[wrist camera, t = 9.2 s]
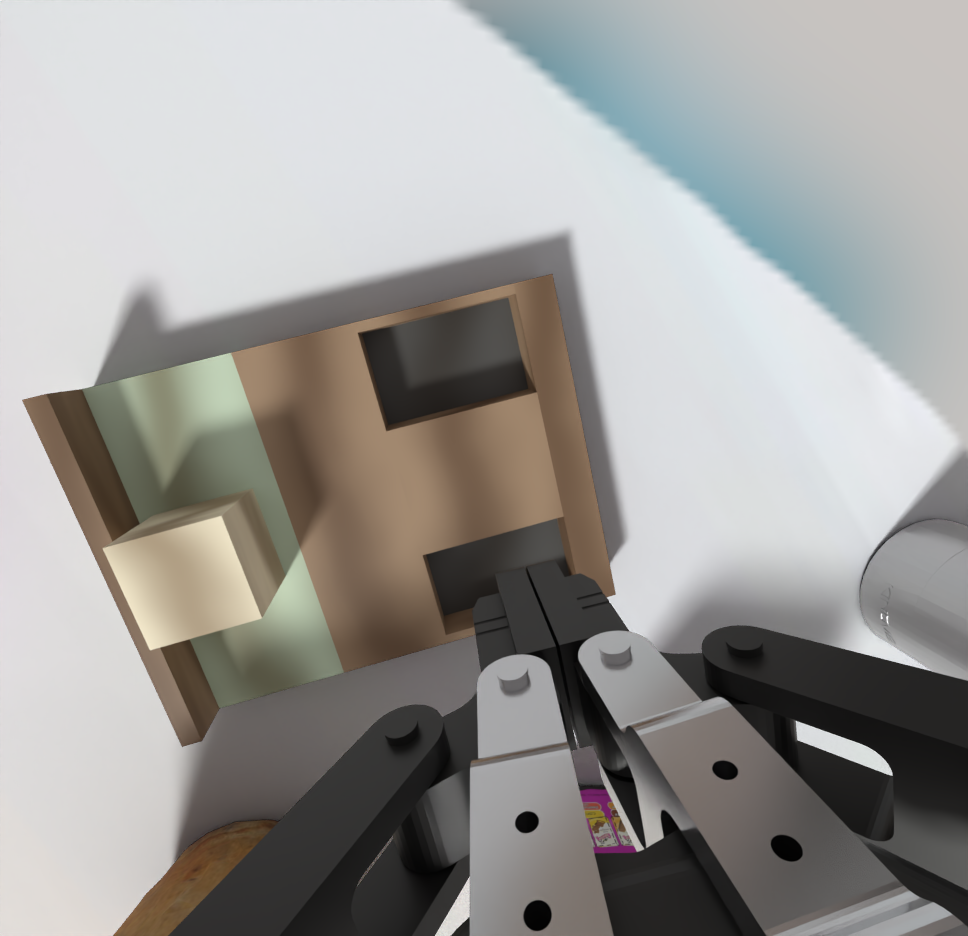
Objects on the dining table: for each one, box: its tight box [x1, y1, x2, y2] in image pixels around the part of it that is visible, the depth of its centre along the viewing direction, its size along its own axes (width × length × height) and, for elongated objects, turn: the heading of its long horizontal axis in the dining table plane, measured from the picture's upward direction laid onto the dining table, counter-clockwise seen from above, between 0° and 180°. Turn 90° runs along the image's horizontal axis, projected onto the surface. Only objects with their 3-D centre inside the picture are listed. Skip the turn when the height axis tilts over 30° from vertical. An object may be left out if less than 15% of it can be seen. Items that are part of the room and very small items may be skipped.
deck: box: [22, 274, 616, 747], centre depth 28 cm, size 24×18×5 cm
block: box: [103, 488, 286, 650], centre depth 25 cm, size 5×5×4 cm
